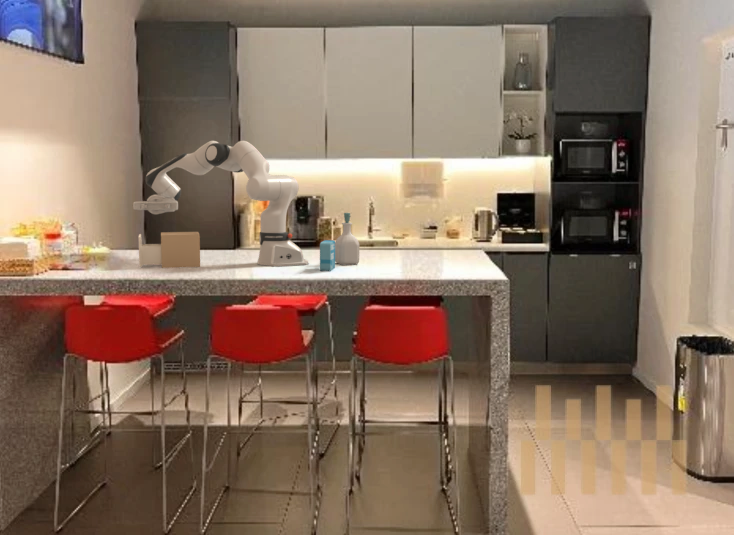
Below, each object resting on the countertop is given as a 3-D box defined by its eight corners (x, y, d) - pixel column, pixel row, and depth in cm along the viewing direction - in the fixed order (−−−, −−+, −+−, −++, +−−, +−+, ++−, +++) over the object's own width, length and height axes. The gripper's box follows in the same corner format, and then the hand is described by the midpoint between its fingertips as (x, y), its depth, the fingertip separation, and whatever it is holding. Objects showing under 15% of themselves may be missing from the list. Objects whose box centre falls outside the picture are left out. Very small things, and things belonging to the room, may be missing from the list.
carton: (199, 263, 361) (198, 231, 359) (200, 266, 349) (199, 234, 347) (161, 264, 357) (160, 232, 355) (161, 267, 345) (160, 235, 343)
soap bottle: (340, 265, 357) (340, 213, 353) (333, 263, 365) (333, 212, 362) (360, 264, 360) (361, 213, 357) (353, 262, 369) (353, 211, 366)
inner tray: (177, 260, 363) (176, 232, 361) (178, 266, 347) (177, 236, 345) (139, 261, 359) (138, 232, 358) (138, 267, 343) (137, 236, 341)
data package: (330, 271, 338) (330, 243, 337) (319, 271, 339) (319, 242, 337) (335, 267, 350) (335, 240, 348) (324, 267, 351) (324, 239, 349)
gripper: (132, 198, 382) (131, 199, 368) (177, 198, 387) (178, 199, 373) (133, 211, 382) (132, 213, 369) (177, 211, 387) (178, 213, 374)
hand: (155, 206), depth 371 cm, fingers open, 8 cm apart
